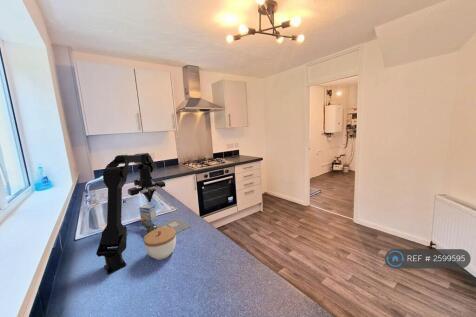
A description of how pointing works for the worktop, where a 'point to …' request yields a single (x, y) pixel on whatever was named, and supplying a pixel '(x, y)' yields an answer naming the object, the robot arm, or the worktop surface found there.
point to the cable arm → (148, 224)
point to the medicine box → (148, 212)
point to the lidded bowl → (160, 242)
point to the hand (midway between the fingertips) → (149, 202)
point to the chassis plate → (173, 225)
